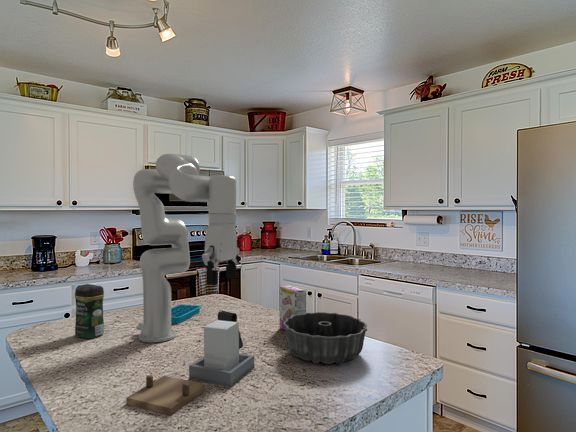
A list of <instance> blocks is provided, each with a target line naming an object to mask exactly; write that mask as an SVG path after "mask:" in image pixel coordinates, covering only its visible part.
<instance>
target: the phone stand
mask: <svg viewBox="0 0 576 432" xmlns="http://www.w3.org/2000/svg"><path fill="white" fill-rule="evenodd" d="M217 320H221V321H230V322H238V315H237V313H235V312H230V311H225V310H221V311H220V310H219V311H218V313H217ZM243 347H244V343H243V340H242V336H241V331H240V330H239V349H241V348H243Z"/></svg>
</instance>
